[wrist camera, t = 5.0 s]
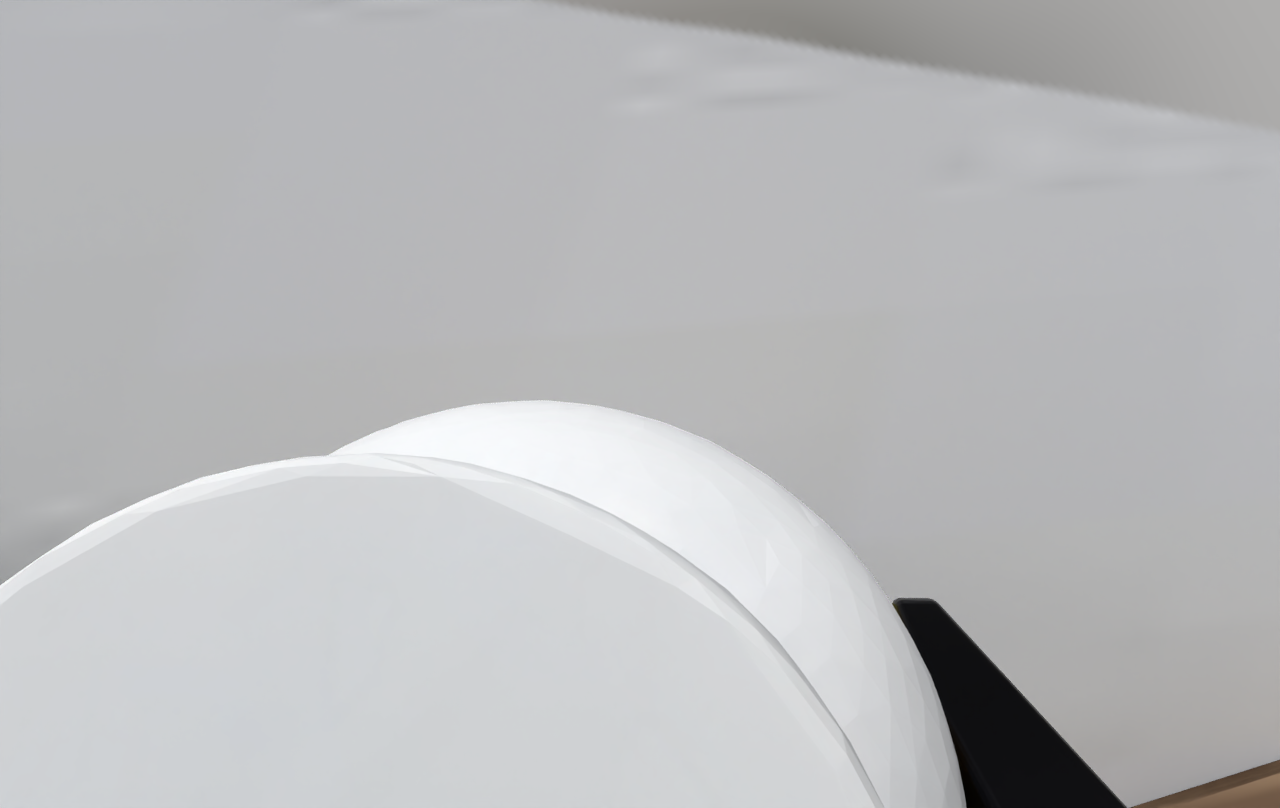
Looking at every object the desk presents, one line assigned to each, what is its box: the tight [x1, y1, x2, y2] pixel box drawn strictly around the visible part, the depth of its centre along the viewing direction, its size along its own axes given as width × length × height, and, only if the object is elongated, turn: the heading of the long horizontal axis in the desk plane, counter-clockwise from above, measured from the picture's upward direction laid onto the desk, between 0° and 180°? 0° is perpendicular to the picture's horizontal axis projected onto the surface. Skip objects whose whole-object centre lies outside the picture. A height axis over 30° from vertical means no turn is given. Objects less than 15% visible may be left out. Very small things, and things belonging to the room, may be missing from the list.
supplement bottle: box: [0, 400, 966, 808], centre depth 9 cm, size 7×7×13 cm
